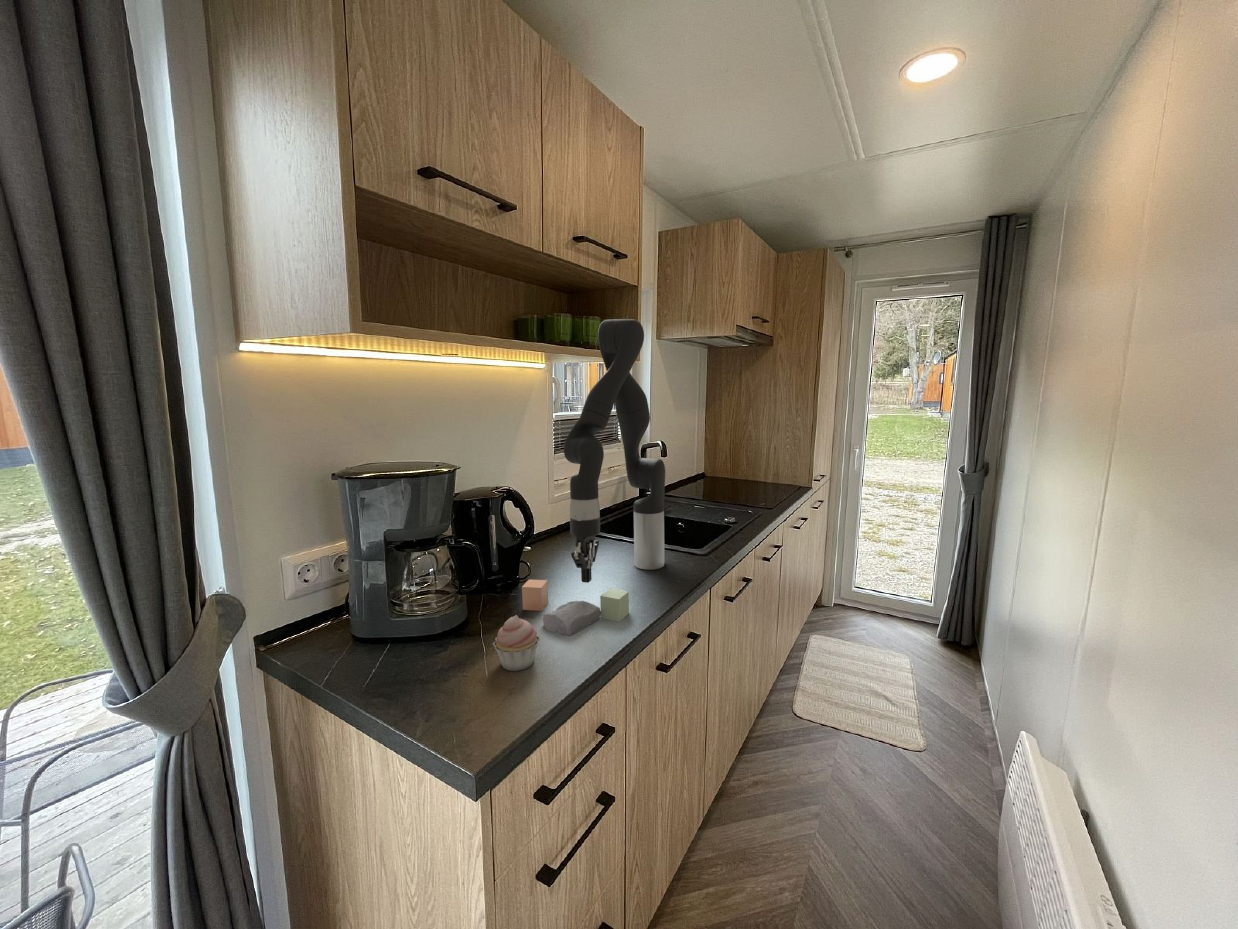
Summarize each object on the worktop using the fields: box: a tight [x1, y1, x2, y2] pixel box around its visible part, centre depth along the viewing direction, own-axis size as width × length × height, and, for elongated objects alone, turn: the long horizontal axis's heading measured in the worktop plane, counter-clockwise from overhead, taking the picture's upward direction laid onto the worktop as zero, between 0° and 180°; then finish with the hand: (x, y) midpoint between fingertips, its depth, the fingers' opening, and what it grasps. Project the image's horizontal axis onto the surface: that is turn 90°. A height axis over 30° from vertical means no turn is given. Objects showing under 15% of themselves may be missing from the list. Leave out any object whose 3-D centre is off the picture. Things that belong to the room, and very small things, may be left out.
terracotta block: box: [521, 578, 549, 612], centre depth 126 cm, size 5×5×6 cm
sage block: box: [599, 588, 630, 622], centre depth 120 cm, size 5×5×6 cm
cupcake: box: [492, 614, 542, 672], centre depth 99 cm, size 9×9×10 cm
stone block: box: [542, 600, 601, 637], centre depth 117 cm, size 12×5×10 cm
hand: (586, 581), depth 128 cm, fingers closed
